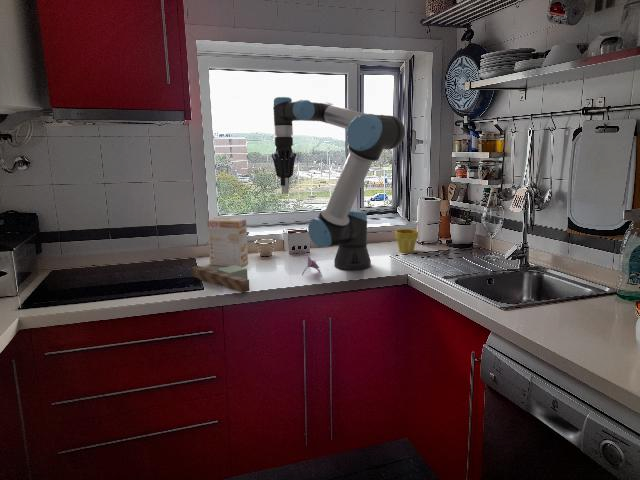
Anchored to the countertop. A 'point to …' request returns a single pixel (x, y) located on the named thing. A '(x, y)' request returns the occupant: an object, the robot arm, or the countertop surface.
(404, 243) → the plant pot
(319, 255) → the countertop surface
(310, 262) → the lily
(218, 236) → the coffeecake box
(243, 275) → the sage block
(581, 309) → the countertop surface
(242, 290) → the walnut plank
